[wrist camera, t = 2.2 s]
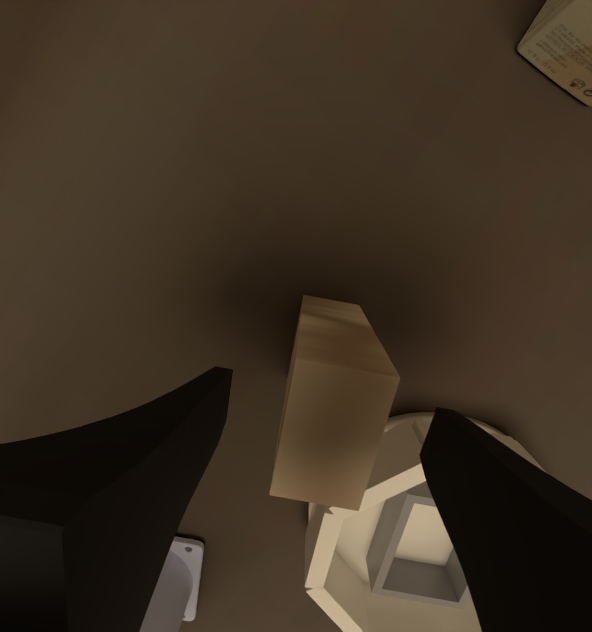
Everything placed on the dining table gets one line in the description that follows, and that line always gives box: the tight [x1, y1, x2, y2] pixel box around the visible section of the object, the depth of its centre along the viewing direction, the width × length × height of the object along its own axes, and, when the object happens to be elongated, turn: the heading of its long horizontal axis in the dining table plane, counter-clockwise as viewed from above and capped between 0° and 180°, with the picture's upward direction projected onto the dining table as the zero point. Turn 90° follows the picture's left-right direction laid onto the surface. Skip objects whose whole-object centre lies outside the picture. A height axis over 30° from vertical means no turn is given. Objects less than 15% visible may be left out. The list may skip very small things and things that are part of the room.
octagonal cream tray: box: [305, 412, 548, 632], centre depth 18 cm, size 14×14×4 cm
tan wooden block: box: [269, 295, 400, 511], centre depth 13 cm, size 3×5×8 cm, turn 170°
